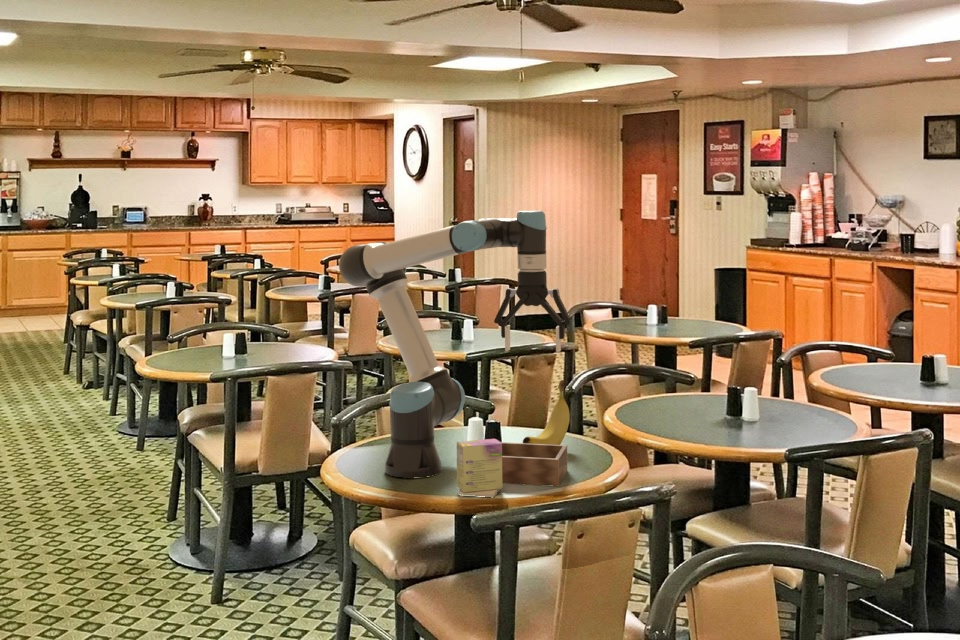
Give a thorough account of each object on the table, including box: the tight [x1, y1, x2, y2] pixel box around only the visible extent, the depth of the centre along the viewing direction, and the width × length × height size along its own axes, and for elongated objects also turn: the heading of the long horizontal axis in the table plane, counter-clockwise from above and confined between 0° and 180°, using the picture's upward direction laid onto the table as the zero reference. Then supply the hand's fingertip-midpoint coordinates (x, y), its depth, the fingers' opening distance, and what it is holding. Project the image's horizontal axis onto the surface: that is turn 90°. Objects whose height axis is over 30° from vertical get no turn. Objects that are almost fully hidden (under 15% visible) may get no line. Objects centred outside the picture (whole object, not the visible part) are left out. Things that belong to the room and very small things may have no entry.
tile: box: [457, 489, 501, 498], centre depth 269 cm, size 9×9×1 cm
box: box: [456, 438, 503, 492], centre depth 269 cm, size 10×6×12 cm, turn 109°
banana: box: [522, 379, 571, 445], centre depth 303 cm, size 23×6×20 cm, turn 146°
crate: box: [500, 441, 568, 487], centre depth 283 cm, size 21×15×7 cm
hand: (532, 350), depth 283 cm, fingers open, 13 cm apart
